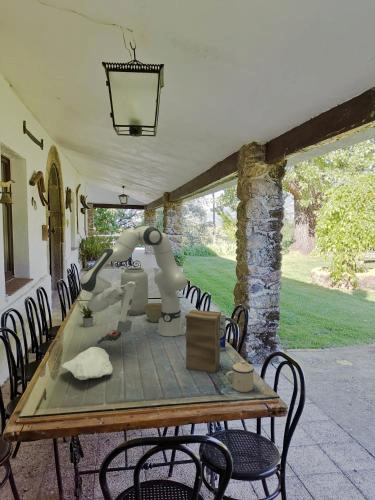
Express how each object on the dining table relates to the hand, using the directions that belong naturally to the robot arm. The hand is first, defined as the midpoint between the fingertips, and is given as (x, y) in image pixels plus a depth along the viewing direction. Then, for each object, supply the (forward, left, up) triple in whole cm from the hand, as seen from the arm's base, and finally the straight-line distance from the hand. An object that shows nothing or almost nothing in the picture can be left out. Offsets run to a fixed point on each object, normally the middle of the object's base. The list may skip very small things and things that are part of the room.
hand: (134, 283), depth 189 cm
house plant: (-38, -51, -39) cm, 74 cm away
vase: (-77, -37, -39) cm, 94 cm away
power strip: (0, -6, -12) cm, 14 cm away
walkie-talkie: (-19, -26, -39) cm, 50 cm away
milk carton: (-22, +39, -39) cm, 59 cm away
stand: (+3, +38, -38) cm, 54 cm away
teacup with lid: (+20, +58, -39) cm, 73 cm away
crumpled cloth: (+26, -12, -39) cm, 48 cm away
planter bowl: (-63, -14, -39) cm, 75 cm away
